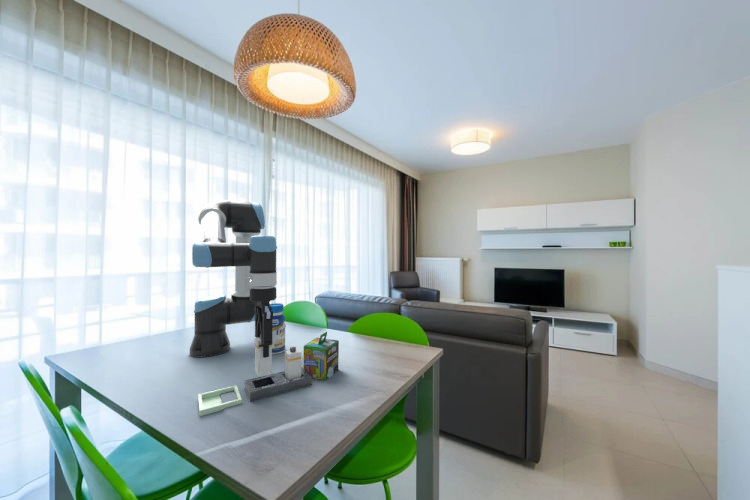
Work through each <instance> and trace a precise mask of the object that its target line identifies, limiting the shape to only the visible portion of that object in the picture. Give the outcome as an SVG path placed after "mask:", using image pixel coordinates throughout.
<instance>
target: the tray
mask: <svg viewBox="0 0 750 500" xmlns="http://www.w3.org/2000/svg"><path fill="white" fill-rule="evenodd" d="M229 392H234V395H235V398H236V399H233V400H229V401H225V402H223V400H222V396H221V395H222V394H224V393H229ZM240 393H241V392H240V391H239V388H238V386H237V384H236V385H232V386H228V387H223V388H218V389H216V390H212V391H211V390H210V391H206V392H201V393H198V394H197V405H198V413H199V417H202V416H207V415H209V414H213V413H216V412H217V413H218V412H220V411H223V410H225V408H229V407H233V406H237V405H240V404H242V403H243V398H242V396H241V394H240Z"/></svg>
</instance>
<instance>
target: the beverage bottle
mask: <svg viewBox="0 0 750 500" xmlns="http://www.w3.org/2000/svg"><path fill="white" fill-rule="evenodd" d="M270 306H271V308H272V311H273V319H272V342H273V343H272V355H278V354H282V353H285V351H286V316H285V315H284V314H283V313H284V309H285V307H284V306H285V305H284V303H279V302H275V303H270Z"/></svg>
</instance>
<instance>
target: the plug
mask: <svg viewBox="0 0 750 500" xmlns="http://www.w3.org/2000/svg"><path fill="white" fill-rule="evenodd" d="M258 345H261V334H260V337H258V338H256V337H254V373H255V374H256V375H257V376H258V377H260V376H265V375H269V374H273V357H272V356H273V354H272V345H270V367H267V368H263V369H260V347H259V346H258Z"/></svg>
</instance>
